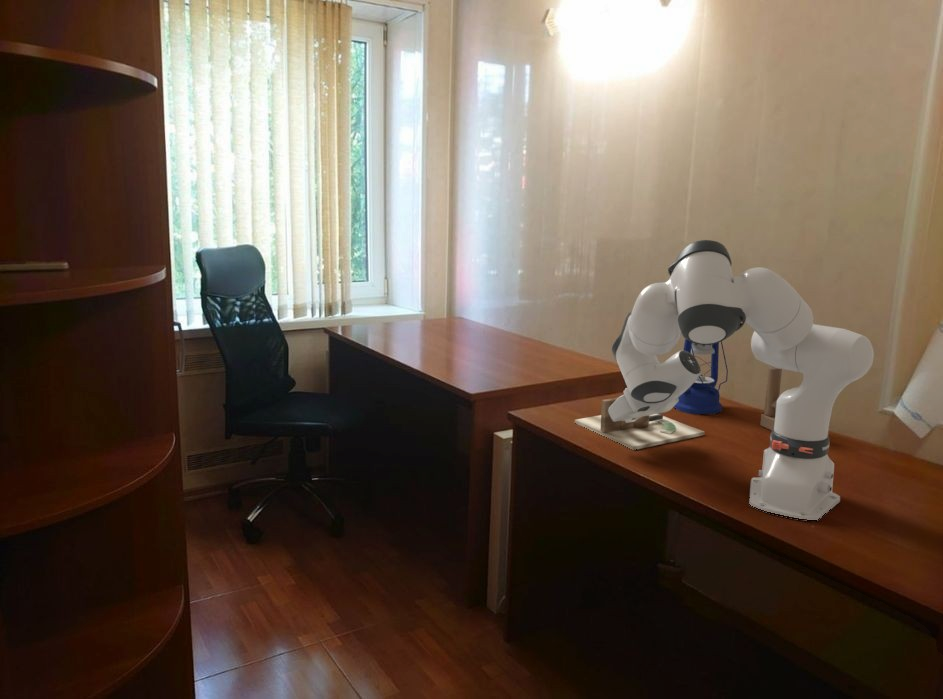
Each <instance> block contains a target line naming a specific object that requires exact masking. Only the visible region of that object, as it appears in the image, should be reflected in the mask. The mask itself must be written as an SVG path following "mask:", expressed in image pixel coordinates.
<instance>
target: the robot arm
mask: <svg viewBox="0 0 943 699" xmlns="http://www.w3.org/2000/svg"><path fill="white" fill-rule="evenodd" d="M732 263H733V262H732V259H731V256H730V254H729V251H728V249H727V248H726V246H725V245H724V244H723V243H721V242H718V241H715V240H712V239H710V240H709V239H703V240H702V239H701V240H696V241H693V242H691V243H690V244H688V245H687V246H685V247H684V248H683V249H682V250H681V251H680V252H679V254H678V255H677V257H676V258H675V261H674V262H672V264H670V265H669V267H668V269H667V271H668V275H669V276H670V277H669V279H668V280H667V281H663V282H655V283H651V284H649V285H646V287H644V288H643V289H642V290H641V291H640V292H639V294H638V296H637V297H636V300H635V302H634V304H633V308H632V310H630V311H629V312H628V314H627V315H626V317H625V320H624V323H623V325H622V328H621V331H620V333H619V335H618V337H617V338H616V339H615V341H614V343H613V345H612V347H611V352H612V354H613V356H614V360H616V363H617V365H618V367H619V370H620V372H621V375H622V377H623V379H624V380H623V381H624V382H625V385H626V388H625V389H624V390H623V394H622V395H620V396H618V397H619V398H618V399H617V400H616V401H615V402H614V403H613V404H612V405H611V406H610V407H609V409H608V412H609V415H610V417H611V419H612V420H613V421H614V422H616V421H621V420H625V422H626V423H629V422H635V421H636V420H637V419H639V418H641V417H643V416H648V415H653V414H663V413H667V412H669V411H671V410H672V409H674V408H673V407H674V406H675V405H676V403H677V402H678V401H679V399H678V397H679V396H680V395H681V394H683V393H684V392H685V391H686V390H687V389H688V388H689V387H690V386H691V385H692V384H693V383H694V382H695V381H696V380H697V378H698V377H699V375H700V374H701V366H700V364H699V361H698V360H697V357H694V356H695V355H694V356H693V353H689V352H687V351H684V349H682V350H679V351H677V352H675V353H674V354H672V355H671V356H670V357H669V358H667V359H666V360H665V361H664V362H660V360H659V358H658V356H660V355H664V354H667V353H669V352H670V351H671V350H672V349H674V347H676V345H677V344H678V343H679V340H680V338H681V335H682V336H683V338H684V340H685V339H687V340H689V341H691V342H693V343H696V344H701V345H711V344H716V343H719V344H720V343H721V341H722V342H723V341H725V340H727V339H728V338H730V337H731V336H733V334H735V332H737V331H739V330H740V329H742V327H743V326H744V325H745V323H747V325H748V326H749V327H750V328H751V329H752V330H753V333H752V335H751V339H750V347H751V352H752V354H753V356H754V358H755V359H756V360H757V361H760V362H762V363H763V364H766V365H767V366H770V367H772V366H773V367H776V368H780V369H782V370H785V371H789V372H794V373H795V372H796V373H801V374H802V375H803V376H802V377H803V379H802V382H801V383H800V385H798V386H796V387H792V388H789V389H786V390H785V391H783V392H782V393H781V394H779V398H778V399H777V403H776V413H775V423H774V428H773V429H772V431H771V433H770V436H769V439H770V440H769V447H768V448H765V449H764V450H763V457H762V458H763V459H762V468H761V469H759V470H758V472H757V475H758V477H757V476H756V477H752V478H751V479H750V485H749V486H750V487H749V497H750V498H749V499H748V505H749V504H750V505H751V506H750V505H749V506H750V507H752V506H753V507H752V508H754V507H756V508H758V509H761V510H764V511H767V512H771V513H775V514H780V515H784V516H789V517H794V518H799V519H807V520H817V521H819V520H820V519H822V518H823V517H824V516H825V515H826V514H828V512H830V511H831V510H832V509H833V508H834V507H836V505H837V504H839V503H840V502H841V496H840V495H839V494H837V493H835V492H833V488H834V487H833V483H834V474H835V473H834V472H835V463H834V462H833V460H831V458H830V457H829V455H828V453H829V449H830V444H831V443H830V436H829V429H830V421H831V415H832V411H833V407H834V404H835V402H836V399H837V397H838V396H839V395H840V393H841V392H842V391H843V389H845V388H846V387H847V386H849V385H851V384H852V383H853V382H855V381H858V380H859V379H861V378H863V376H865V375H866V374H867V373H868V372H869V371H870V369H871V367H872V366H873V362H874V357H875V352H874V351H875V350H874V347H873V345H872V343H871V340H869V338H868V337H867V336H865V335H863V334H861V333H857V332H855V331H851V329H850V330H849V329H847V328H843V327H834V326H828V325H821V324H814V314H813V310H812V309H811V307H810V305H808V303H807V302H806V301H805V300H804V298H802V296H801V295H800V294H799V293H798V291H797V290H796V289H795V288H794V287H793V286H792V284H790V283H789V282H788V281H787V280H786V279H784V278H783V277H782V276H781V275H779V274H778V273H776V272H775V271H773V270H771V269H769V268H767V267H761V266H760V267H758V266H757V267H752V268H748V269H746V270H744V271H743V272H742V273H740V274H739V275H738V276H736V275H733V271H732ZM756 508H755V509H756ZM758 509H757V510H758ZM830 509H831V510H830ZM761 510H760V511H761ZM829 510H830V511H829ZM764 511H763V512H764ZM767 512H766V513H767ZM825 513H826V514H825ZM824 514H825V515H824ZM823 515H824V516H823ZM822 516H823V517H822ZM819 518H820V519H819ZM818 519H819V520H818ZM807 520H806V521H807Z"/></svg>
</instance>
